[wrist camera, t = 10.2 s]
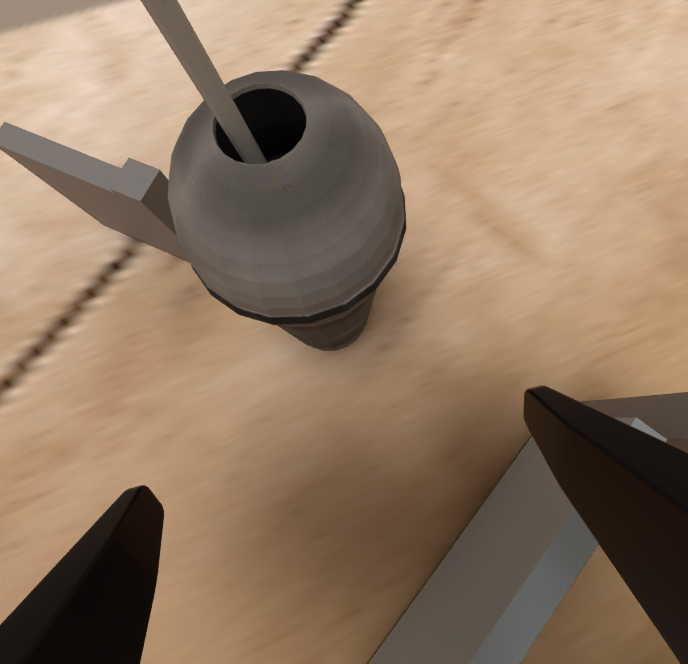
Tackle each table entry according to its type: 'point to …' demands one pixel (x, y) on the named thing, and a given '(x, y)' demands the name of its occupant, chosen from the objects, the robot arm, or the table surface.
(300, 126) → the beverage cup
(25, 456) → the table surface
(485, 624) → the grey thin rectangular panel
